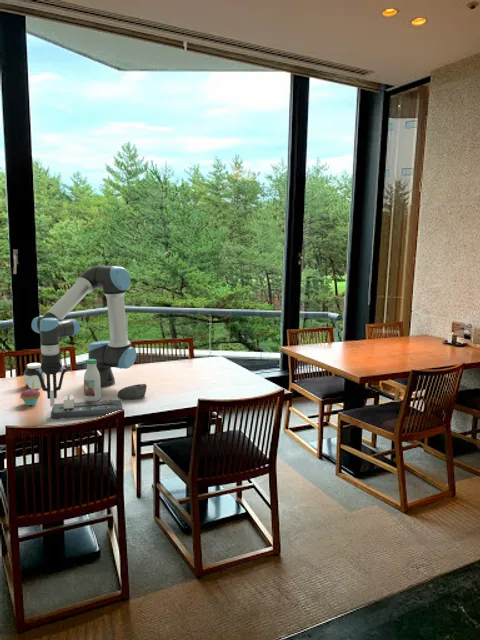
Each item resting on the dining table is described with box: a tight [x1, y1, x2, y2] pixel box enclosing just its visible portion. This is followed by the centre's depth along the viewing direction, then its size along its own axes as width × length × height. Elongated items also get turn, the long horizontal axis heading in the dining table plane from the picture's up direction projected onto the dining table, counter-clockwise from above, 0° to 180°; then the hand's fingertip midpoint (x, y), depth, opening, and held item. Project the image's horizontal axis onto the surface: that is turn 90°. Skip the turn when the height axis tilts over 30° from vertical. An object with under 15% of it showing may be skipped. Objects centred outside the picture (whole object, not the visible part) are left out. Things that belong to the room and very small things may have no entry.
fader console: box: [50, 398, 123, 420], centre depth 217 cm, size 12×30×3 cm, turn 107°
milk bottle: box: [83, 358, 102, 402], centre depth 233 cm, size 8×8×20 cm
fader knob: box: [63, 394, 75, 409], centre depth 214 cm, size 6×4×4 cm, turn 17°
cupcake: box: [20, 381, 41, 406], centre depth 225 cm, size 9×8×12 cm
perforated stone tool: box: [117, 383, 147, 401], centre depth 237 cm, size 15×5×7 cm, turn 116°
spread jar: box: [23, 362, 46, 390], centre depth 252 cm, size 12×11×12 cm
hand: (52, 405), depth 213 cm, fingers closed
